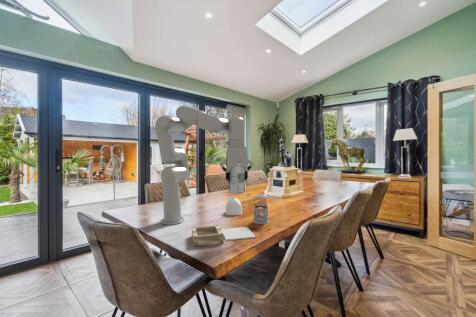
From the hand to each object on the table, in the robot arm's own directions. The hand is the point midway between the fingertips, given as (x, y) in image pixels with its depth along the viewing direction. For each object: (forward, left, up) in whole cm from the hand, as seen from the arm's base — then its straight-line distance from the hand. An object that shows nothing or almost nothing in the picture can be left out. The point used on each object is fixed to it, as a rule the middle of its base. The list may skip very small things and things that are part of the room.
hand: (236, 180), depth 113 cm
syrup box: (0, 0, -6) cm, 6 cm away
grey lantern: (-16, +17, -26) cm, 35 cm away
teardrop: (-37, +7, -27) cm, 46 cm away
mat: (0, 0, -26) cm, 26 cm away
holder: (+3, -15, -26) cm, 30 cm away
